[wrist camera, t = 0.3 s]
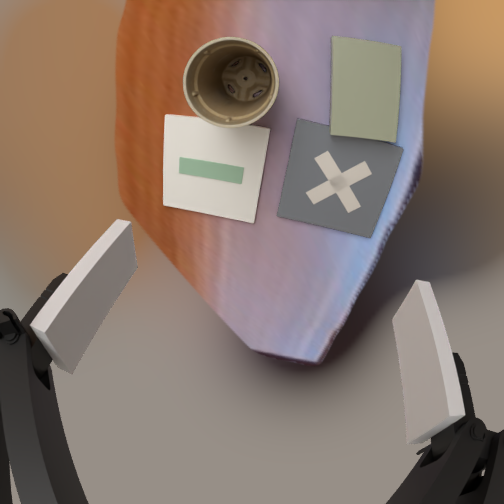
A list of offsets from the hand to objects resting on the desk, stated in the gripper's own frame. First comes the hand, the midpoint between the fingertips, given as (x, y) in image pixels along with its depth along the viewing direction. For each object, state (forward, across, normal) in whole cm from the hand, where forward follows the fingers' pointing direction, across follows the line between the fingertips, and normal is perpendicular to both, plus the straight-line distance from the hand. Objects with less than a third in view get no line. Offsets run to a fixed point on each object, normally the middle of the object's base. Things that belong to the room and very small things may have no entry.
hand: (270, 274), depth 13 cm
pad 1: (+27, -10, -7) cm, 30 cm away
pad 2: (+27, +7, -6) cm, 29 cm away
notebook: (+27, +7, +7) cm, 29 cm away
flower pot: (+28, -7, +6) cm, 29 cm away
